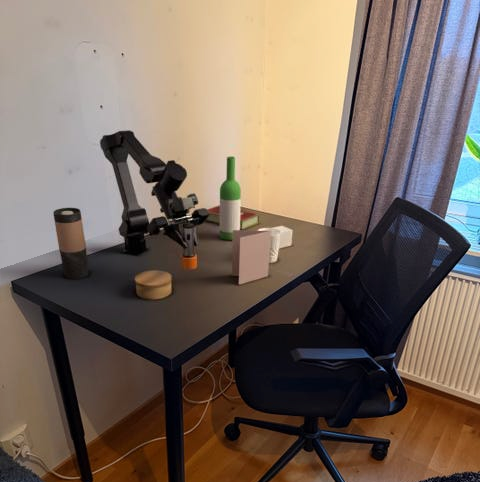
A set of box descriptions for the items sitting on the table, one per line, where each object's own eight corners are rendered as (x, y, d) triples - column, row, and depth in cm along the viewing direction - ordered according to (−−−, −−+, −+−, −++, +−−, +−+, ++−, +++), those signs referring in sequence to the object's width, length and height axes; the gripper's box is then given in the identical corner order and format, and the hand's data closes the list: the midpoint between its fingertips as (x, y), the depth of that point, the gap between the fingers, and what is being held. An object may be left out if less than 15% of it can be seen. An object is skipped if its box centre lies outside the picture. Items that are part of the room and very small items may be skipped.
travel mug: (94, 271, 140) (86, 209, 131) (79, 280, 134) (69, 216, 124) (74, 267, 142) (64, 206, 133) (58, 276, 136) (46, 213, 126)
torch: (181, 263, 133) (179, 222, 127) (196, 263, 134) (196, 222, 128) (181, 269, 129) (179, 227, 123) (197, 269, 130) (196, 227, 124)
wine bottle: (243, 236, 172) (246, 156, 158) (232, 242, 167) (234, 160, 152) (226, 232, 176) (227, 154, 162) (215, 238, 170) (215, 157, 156)
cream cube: (281, 240, 170) (282, 225, 167) (291, 245, 166) (292, 230, 163) (268, 243, 167) (269, 228, 164) (279, 248, 162) (280, 232, 160)
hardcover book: (220, 213, 199) (220, 204, 197) (258, 223, 188) (259, 213, 186) (202, 219, 190) (202, 210, 188) (242, 230, 179) (242, 220, 177)
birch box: (129, 295, 126) (127, 281, 124) (148, 281, 135) (146, 267, 133) (161, 302, 123) (160, 287, 121) (178, 287, 132) (177, 273, 130)
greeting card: (267, 274, 141) (270, 229, 134) (269, 285, 135) (272, 238, 128) (231, 274, 141) (232, 229, 134) (232, 284, 134) (233, 237, 127)
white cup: (272, 265, 148) (274, 237, 143) (251, 260, 152) (253, 232, 147) (282, 258, 154) (285, 230, 149) (263, 253, 158) (264, 226, 153)
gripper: (149, 189, 118) (174, 240, 116) (205, 180, 129) (229, 227, 127) (137, 211, 127) (159, 259, 125) (190, 201, 138) (212, 245, 136)
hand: (191, 246), depth 128 cm, fingers closed on torch, 3 cm apart
